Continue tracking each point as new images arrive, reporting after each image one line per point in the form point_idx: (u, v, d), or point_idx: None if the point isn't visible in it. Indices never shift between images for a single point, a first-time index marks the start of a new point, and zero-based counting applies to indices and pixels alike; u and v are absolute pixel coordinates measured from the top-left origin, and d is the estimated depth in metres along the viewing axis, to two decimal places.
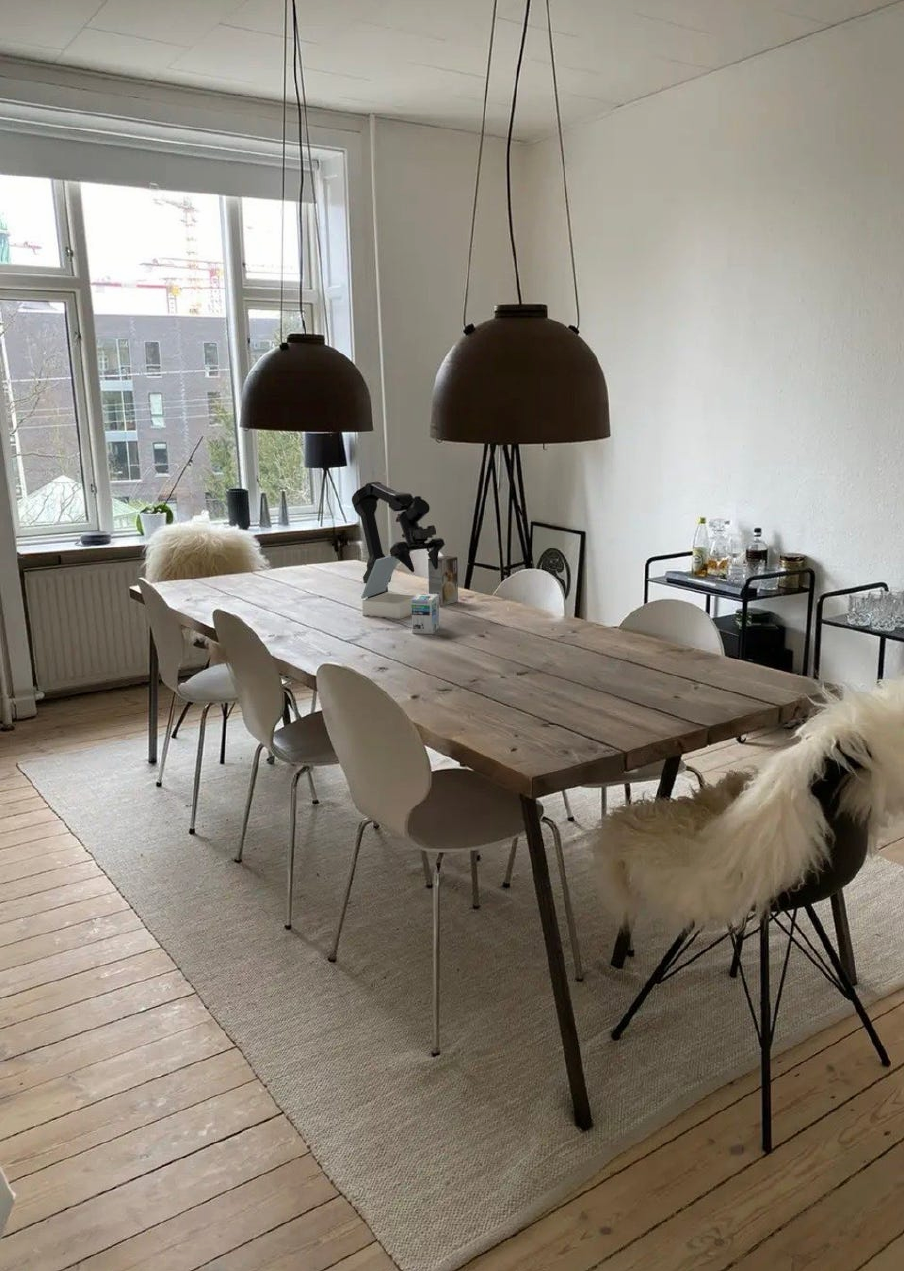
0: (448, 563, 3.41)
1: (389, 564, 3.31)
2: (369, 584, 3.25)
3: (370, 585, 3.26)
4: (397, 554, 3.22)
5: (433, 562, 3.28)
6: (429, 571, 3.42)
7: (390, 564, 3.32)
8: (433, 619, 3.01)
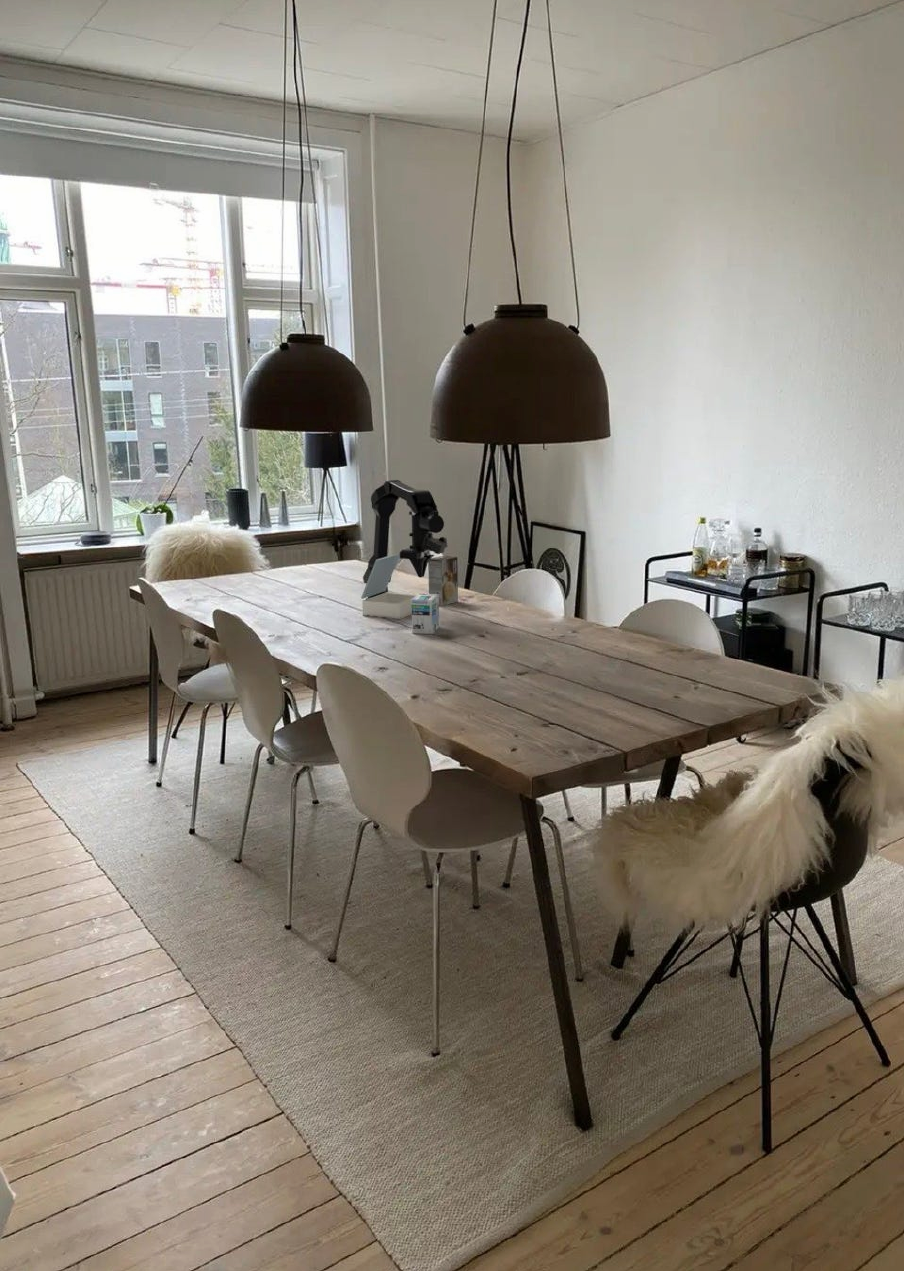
0: (448, 563, 3.41)
1: (389, 564, 3.31)
2: (369, 584, 3.25)
3: (370, 585, 3.26)
4: None
5: None
6: (429, 571, 3.42)
7: (390, 564, 3.32)
8: (433, 619, 3.01)
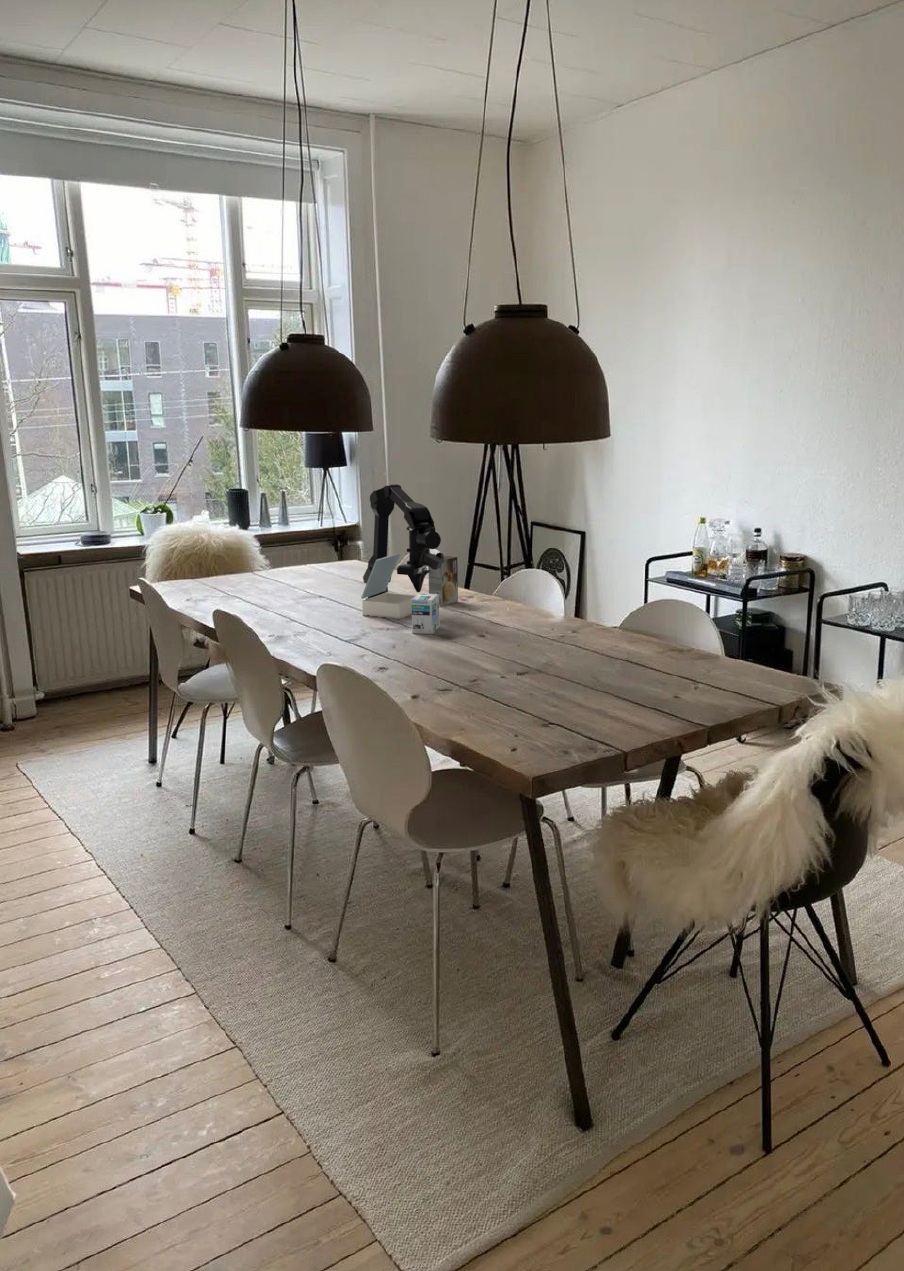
0: (448, 563, 3.41)
1: (389, 564, 3.31)
2: (369, 584, 3.25)
3: (370, 585, 3.26)
4: None
5: None
6: None
7: (390, 564, 3.32)
8: (433, 619, 3.01)
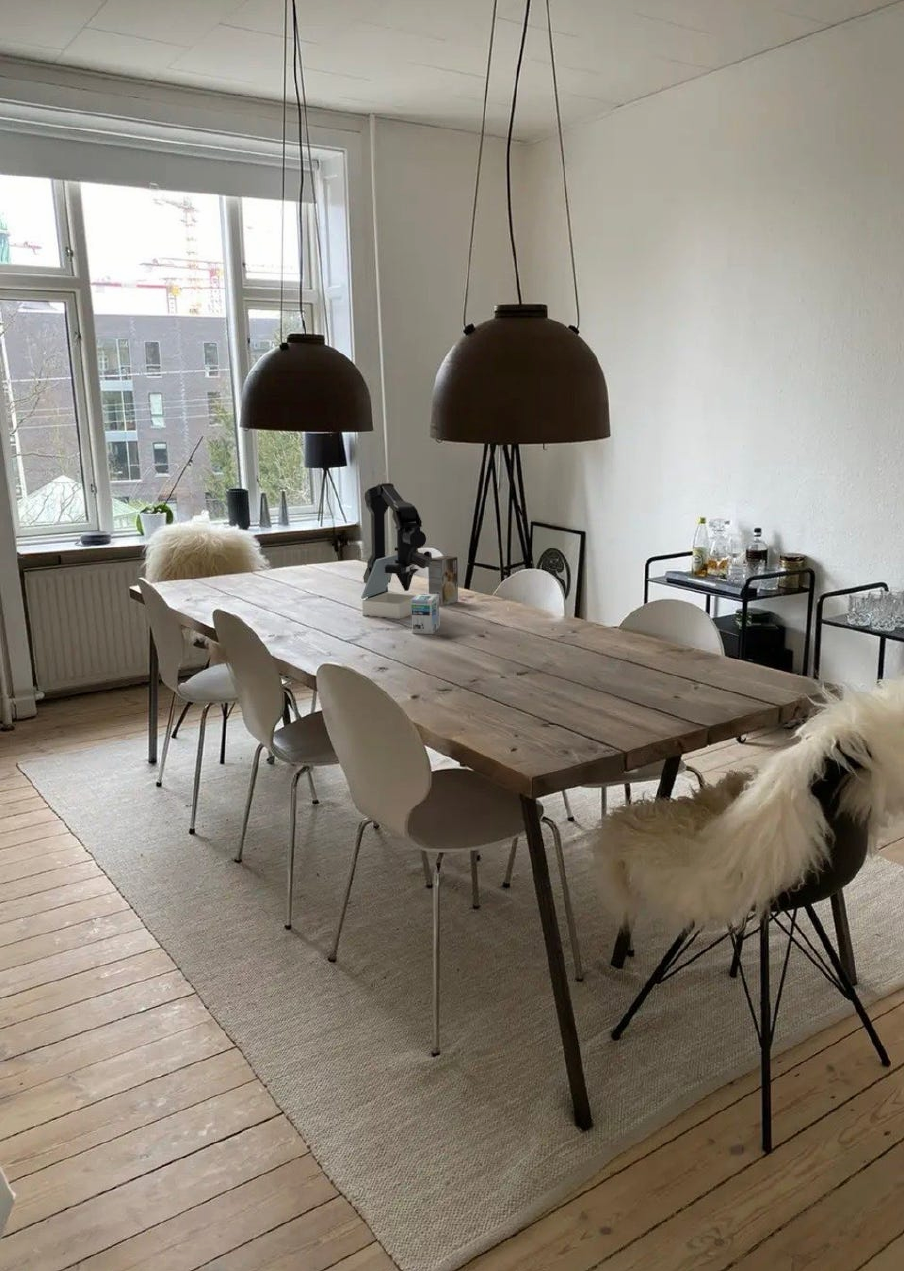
0: (448, 563, 3.41)
1: None
2: (369, 584, 3.25)
3: (370, 585, 3.26)
4: None
5: None
6: (429, 571, 3.42)
7: None
8: (433, 619, 3.01)
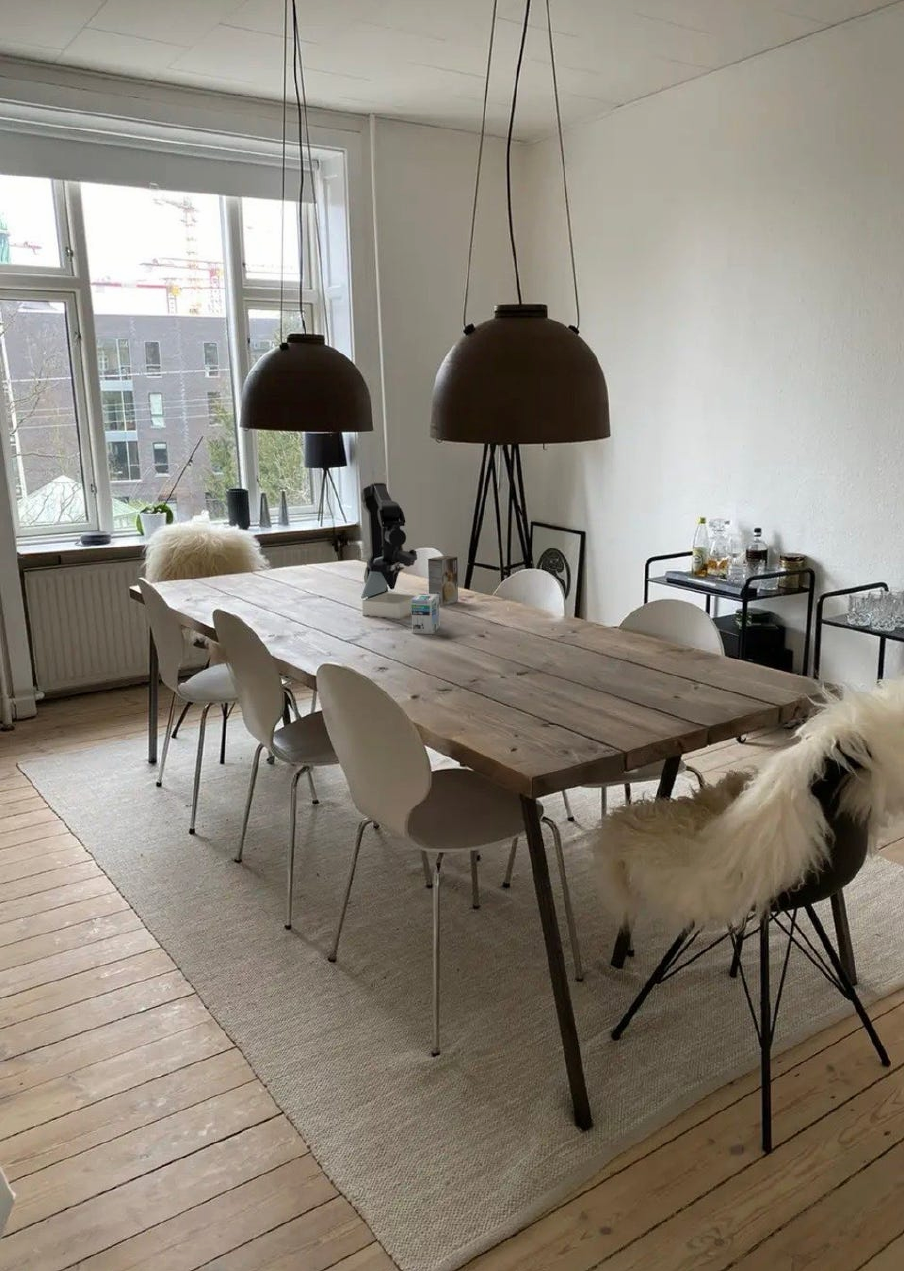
0: (448, 563, 3.41)
1: None
2: (368, 584, 3.25)
3: (370, 584, 3.26)
4: None
5: None
6: (429, 571, 3.42)
7: None
8: (433, 619, 3.01)
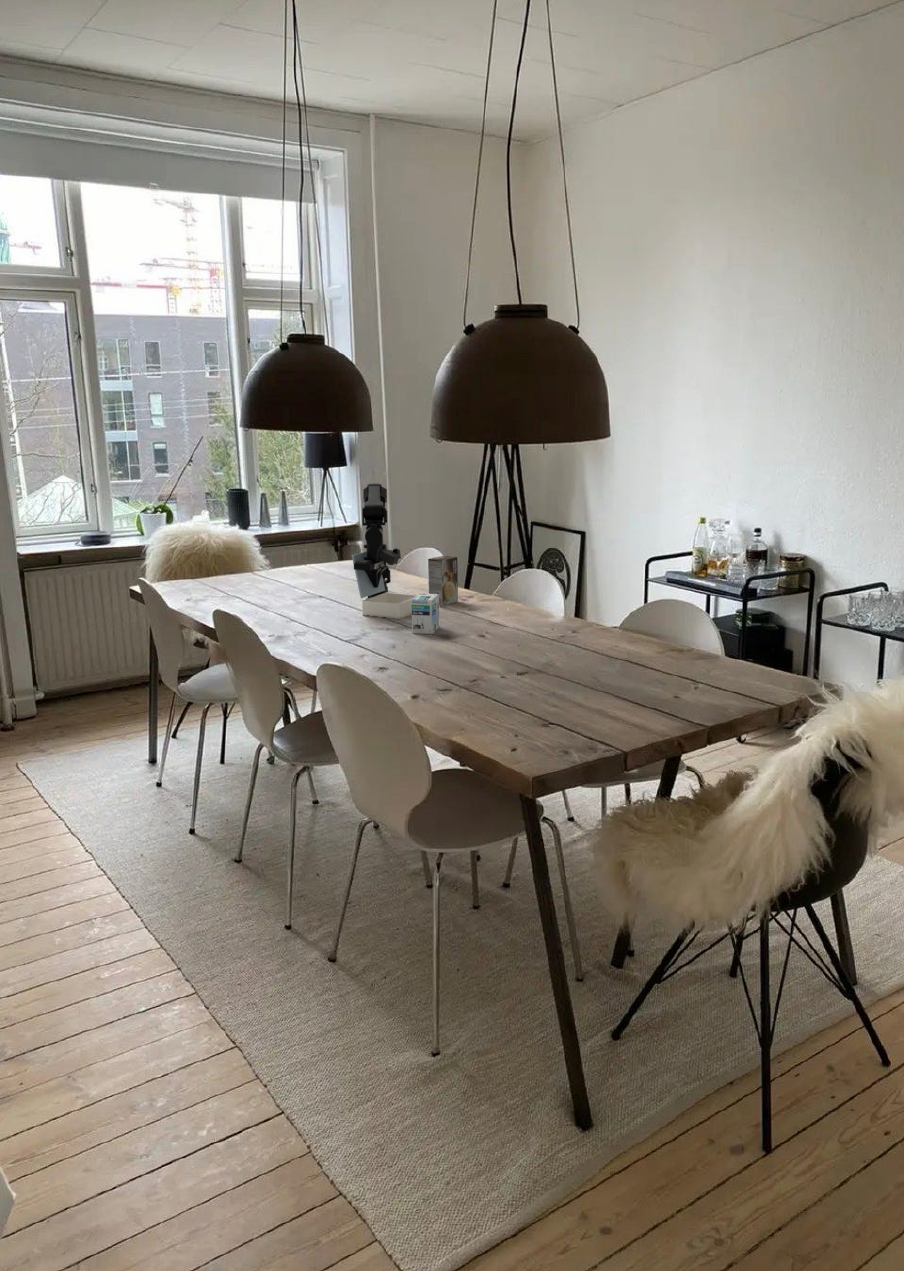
0: (448, 563, 3.41)
1: None
2: (360, 582, 3.27)
3: (362, 582, 3.28)
4: None
5: None
6: (429, 571, 3.43)
7: None
8: (433, 619, 3.01)
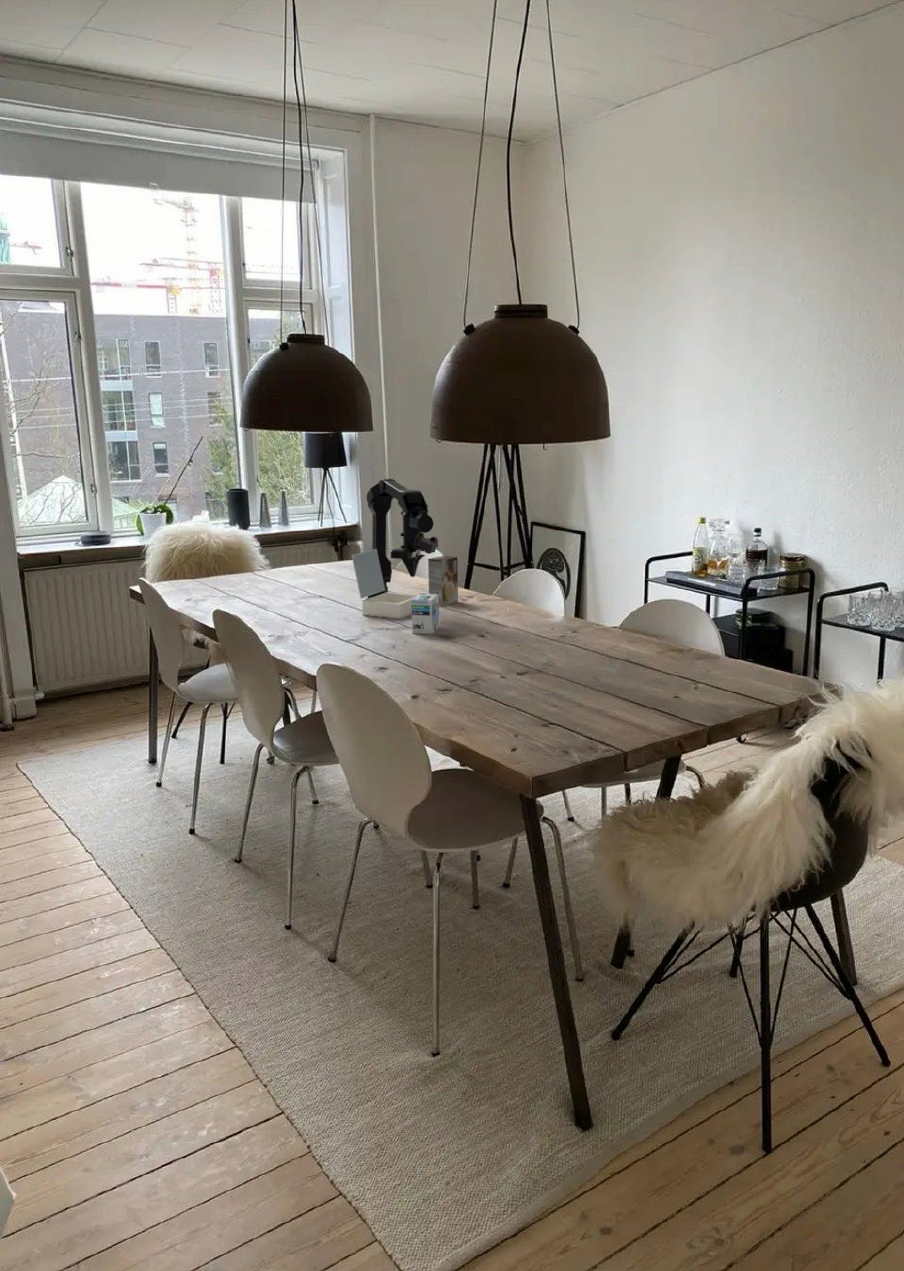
0: (448, 563, 3.41)
1: (370, 560, 3.34)
2: (360, 582, 3.27)
3: (362, 582, 3.28)
4: None
5: None
6: (429, 571, 3.42)
7: (371, 560, 3.34)
8: (433, 619, 3.01)
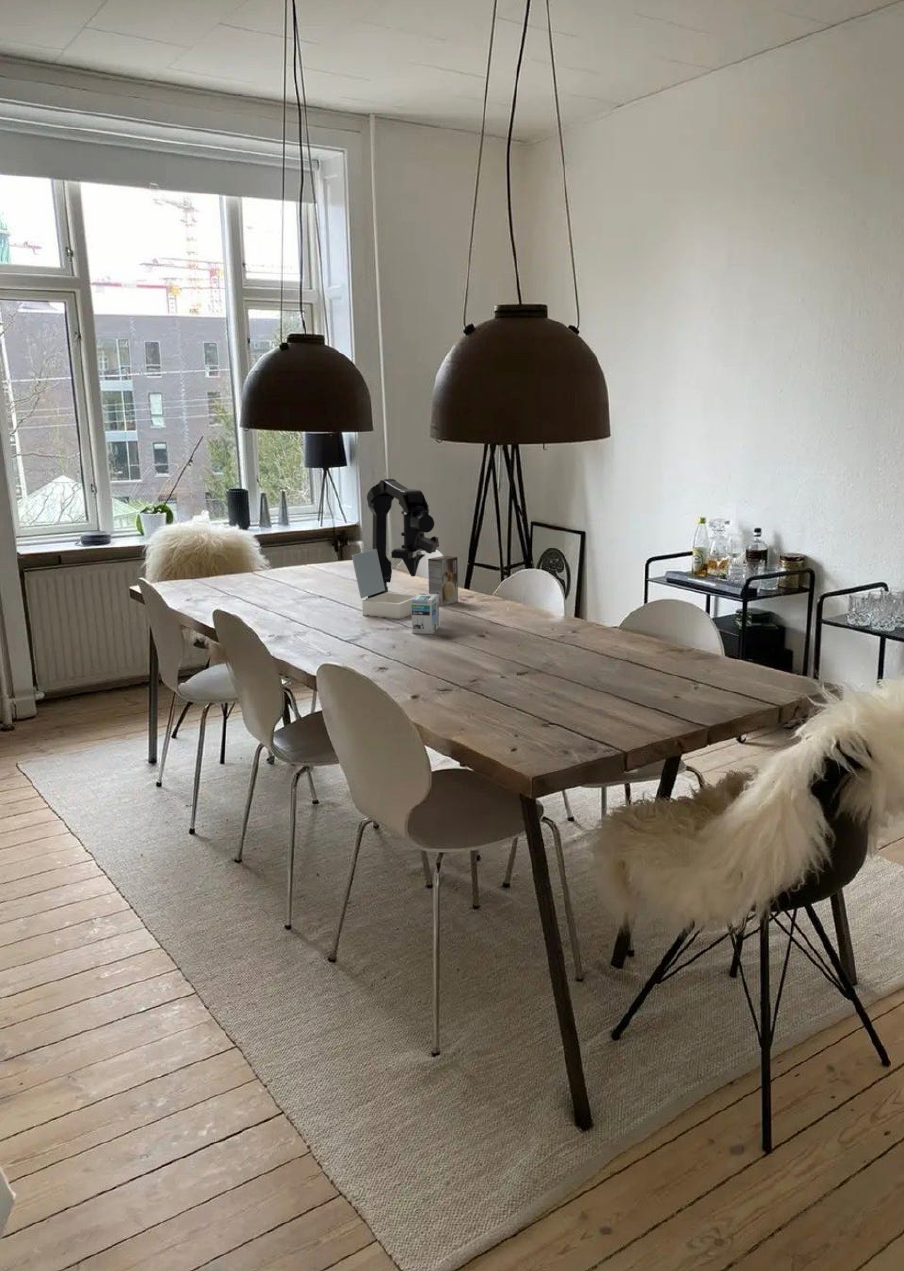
0: (448, 563, 3.41)
1: (370, 560, 3.34)
2: (360, 582, 3.27)
3: (362, 582, 3.28)
4: None
5: None
6: (429, 571, 3.43)
7: (371, 560, 3.34)
8: (433, 619, 3.01)
